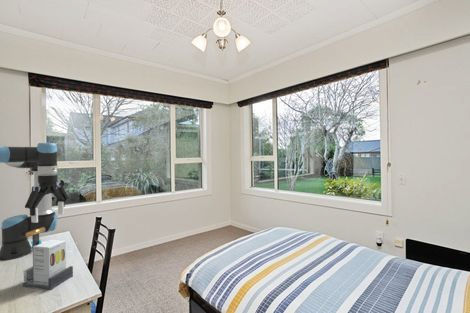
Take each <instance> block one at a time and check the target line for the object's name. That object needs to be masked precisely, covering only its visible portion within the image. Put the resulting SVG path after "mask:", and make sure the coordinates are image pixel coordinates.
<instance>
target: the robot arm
mask: <svg viewBox="0 0 470 313" xmlns="http://www.w3.org/2000/svg"><path fill="white" fill-rule="evenodd" d="M1 163H4V164H5V165H7V166H9V167H12V168H15V169H16V168H17V169H30V172H32V173H33V177H34V178H33V183H34V186H32V187H31V192H30V194H29V197H28V199H27V201H26V203H25V205H24V208H25V209H29V215H30V216H28V214H18V215H13V216H9V217H7V218H5V219H3V220H2V222H1V228H0V229H1V247H0V260H1V261H5V260H6V261H7V260H15V259H17V258H22V257H24V256H26V255H29V254H31V252H33V247H31V245H30V243H31V242H30V241H29V237H26V233H27V232H30V231H33V230H36V229H39V228H42V227H44V228H45V231H44V232H41V233H40V234H43V233H49V232H54V231H55V230H56V227H57V224H58V215H61V216H62V215H64V214H65V207H66V206H65V202H67V200H68V199H69V196H68V195H67V193H66V190H65V189H64V186H63V185H64V184H63V182H58V178H59V177H58V146H57V143H55V142H39V143H37V146H0V164H1ZM52 195H53V196H54V197H55V198H56V199H57V200H58V201H57V212H56V210H54V208H52V206H53V203H52V202H53V201H52V199H53V198H52Z"/></svg>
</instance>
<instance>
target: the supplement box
mask: <svg viewBox="0 0 470 313" xmlns="http://www.w3.org/2000/svg"><path fill="white" fill-rule="evenodd" d="M45 241H46V242H45ZM45 241H43V242H44V243H41V244H39V245H36V246H33V247H32V262H33V261H34V281H39V282H47V283H48V279H49V278H50V277H52V276H54V275H56V274H57V273H59V272H61V271H63V270H65V269H66V268H67V241H66V240H58V239H49V240H45Z"/></svg>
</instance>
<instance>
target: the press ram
mask: <svg viewBox="0 0 470 313" xmlns="http://www.w3.org/2000/svg"><path fill="white" fill-rule="evenodd" d="M44 231H45V228H44V227H42V228H39V229H36V230H33V231H30V232H27V233H26V237H28V238H29V237H32V240H31V241H32V242H33V246H36V245H39V240H40V234H42V233H41V232H44ZM32 278H34V261H33V260H32V266H31V267H29V268H27V269H24V270H23V282H27V281H29V280H30V279H32Z"/></svg>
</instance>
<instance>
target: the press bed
mask: <svg viewBox="0 0 470 313" xmlns="http://www.w3.org/2000/svg"><path fill="white" fill-rule="evenodd" d="M73 276H74V267H73V266H72V265H69V267H66V269H65V270H63V271H61V272H59V273H57V274H56V275H54V276H52V277H50V278H49V279H48V283H47V282H39V281H34V278H32V279H30V280H29V281H27V282H26V281H23V283H21V284H22V287H24V288H32V289H40V290H49V291H51V290H53V289H55V288H56V287H58V286H59V285H61V284H63V283H64V282H66V281H68V280H69V279H71V278H72V277H73Z"/></svg>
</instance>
